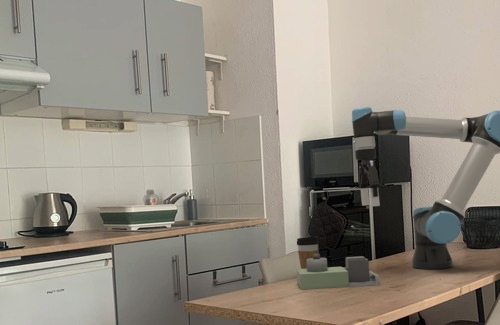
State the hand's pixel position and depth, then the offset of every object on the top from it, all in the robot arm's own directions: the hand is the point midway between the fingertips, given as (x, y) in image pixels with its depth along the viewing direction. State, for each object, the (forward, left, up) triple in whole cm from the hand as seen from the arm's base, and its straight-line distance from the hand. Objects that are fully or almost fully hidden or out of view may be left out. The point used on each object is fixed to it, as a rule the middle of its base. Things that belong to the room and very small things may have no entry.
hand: (370, 205), depth 209 cm
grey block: (+9, +14, -26) cm, 31 cm away
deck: (+22, +14, -26) cm, 36 cm away
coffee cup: (+24, -5, -26) cm, 35 cm away
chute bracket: (+9, +14, -26) cm, 31 cm away
